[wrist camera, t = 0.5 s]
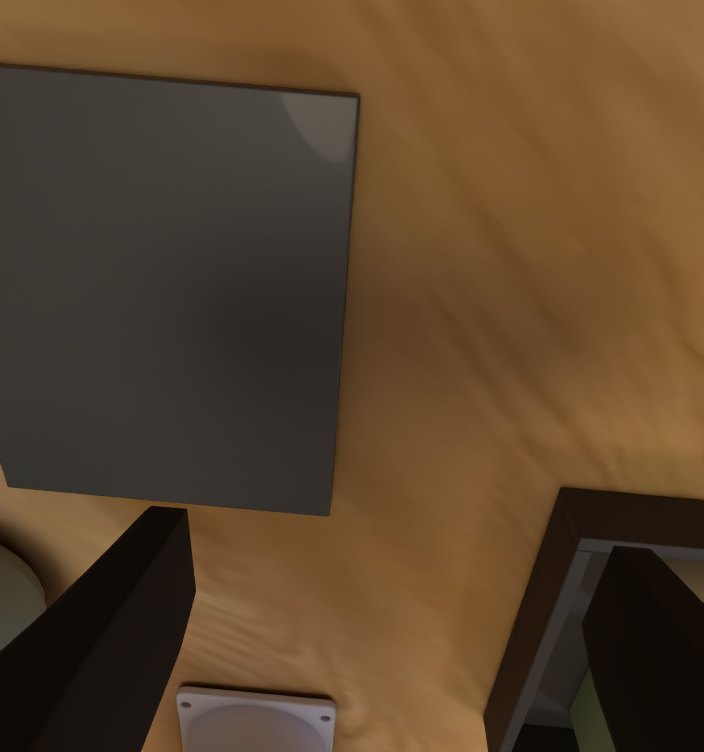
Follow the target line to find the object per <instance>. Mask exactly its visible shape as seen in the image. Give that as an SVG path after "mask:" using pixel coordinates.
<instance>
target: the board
mask: <svg viewBox="0 0 704 752" xmlns="http://www.w3.org/2000/svg"><path fill="white" fill-rule="evenodd" d="M359 109H360V94H355V93H344V92H332V91H320V90H308V89H297V88H285V87H273V86H261V85H249V84H238V83H226V82H214V81H202V80H190V79H179V78H167V77H155V76H143V75H132V74H120V73H108V72H96V71H84V70H73V69H61V68H49V67H37V66H25V65H14V64H2V63H0V463H1V466H2V469H3V472H4V476H5V479H6V482H7V485H8V487H12V488H23V489H34V490H45V491H56V492H66V493H77V494H88V495H99V496H110V497H121V498H131V499H142V500H153V501H164V502H175V503H185V504H196V505H207V506H218V507H229V508H239V509H250V510H261V511H272V512H283V513H293V514H304V515H315V516H326V517H328V516H329V515H330V507H331V498H332V484H333V471H334V457H335V443H336V429H337V415H338V401H339V387H340V373H341V359H342V345H343V331H344V317H345V303H346V290H347V276H348V262H349V248H350V234H351V220H352V206H353V192H354V178H355V164H356V150H357V136H358V123H359Z"/></svg>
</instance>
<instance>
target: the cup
mask: <svg viewBox="0 0 704 752" xmlns="http://www.w3.org/2000/svg"><path fill="white" fill-rule="evenodd" d="M46 609H47V604H46V597H45V593H44V590H43V587H42V584H41V582H40V580H39V579H38V577H37V575H36V574H35V573H34V571H33V570H32V569H31V568H30V567H29V566H28V565H27V563H26V562H25V561H23V560H22V559H21V558H20V557H19V556H18V555H16V554H15V553H13V552H12V551H10V550H9V549H7V548H6V547H4V546H2V545H0V651H1V650H2V649H3V648H4V647H5V646H6V645H7V644H9V643H10V642H11V641H12V640H13V639H14V638H15V637H16V636H18V635H19V634H20V633H21V632H22V631H23V630H24V629H25V628H27V627H28V626H29V625H30V624H31V623H32V622H33V621H34V620H36V619H37V618H38V617H39V616H40V615H41V614H42V613H43V612H44V611H45V610H46Z"/></svg>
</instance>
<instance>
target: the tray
mask: <svg viewBox="0 0 704 752" xmlns="http://www.w3.org/2000/svg"><path fill="white" fill-rule="evenodd" d="M613 546H626V547H637V548H649V549H651V550H652V551H653V552H654V553H656V554H657V555H658V556H659V557H660V558H668V559H679V560H690V561H701V562H704V501H699V500H688V499H677V498H666V497H655V496H644V495H633V494H622V493H611V492H600V491H590V490H579V489H568V488H561V490H560V493H559V496H558V499H557V502H556V505H555V508H554V511H553V514H552V517H551V520H550V523H549V526H548V528H547V531H546V534H545V537H544V540H543V543H542V546H541V549H540V552H539V555H538V558H537V561H536V564H535V567H534V570H533V573H532V576H531V579H530V581H529V584H528V587H527V590H526V593H525V596H524V599H523V602H522V605H521V608H520V611H519V614H518V617H517V620H516V623H515V626H514V629H513V631H512V634H511V637H510V640H509V643H508V646H507V649H506V652H505V655H504V658H503V661H502V664H501V667H500V670H499V673H498V676H497V679H496V682H495V684H494V687H493V690H492V693H491V696H490V699H489V702H488V705H487V708H486V711H485V714H484V717H483V719H484V725H485V732H486V739H487V746H488V752H580V750H579V746H578V743H577V739H576V735H575V732H574V728H573V724H572V721H571V717H570V713H569V709H570V707H571V705H572V703H573V700H574V698H575V696H576V694H577V692H578V690H579V688H580V686H581V683H582V681H583V679H584V677H585V675H586V673H587V671H588V669H589V666H590V665H589V661H588V656H587V651H586V646H585V641H584V636H583V631H582V626H581V624H582V621H583V619H584V616H585V614H586V611H587V609H588V607H589V604H590V602H591V599H592V597H593V595H594V592H595V590H596V587H597V585H598V583H599V580H600V578H601V575H602V573H603V570H604V568H605V566H606V563H607V561H608V558H609V556H610V554H611V551H612V549H613Z"/></svg>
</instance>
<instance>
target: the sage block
mask: <svg viewBox="0 0 704 752" xmlns="http://www.w3.org/2000/svg"><path fill="white" fill-rule="evenodd" d="M569 713H570V717H571V721H572V724H573V728H574V732H575V735H576V739H577V743H578V746H579V750H580V752H616V750H615V747H614V745H613V742H612V739H611V736H610V733H609V730H608V727H607V724H606V721H605V718H604V715H603V712H602V709H601V706H600V703H599V700H598V697H597V694H596V690H595V687H594V683H593V679H592V674H591V670H590V666H589V669H588V671H587V673H586V675H585V677H584V679H583V681H582V683H581V686H580V688H579V690H578V692H577V694H576V696H575V698H574V700H573V703H572V705H571V707H570V709H569Z"/></svg>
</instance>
